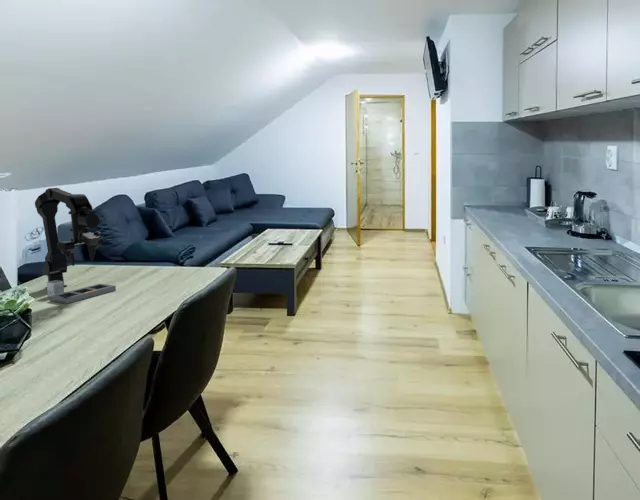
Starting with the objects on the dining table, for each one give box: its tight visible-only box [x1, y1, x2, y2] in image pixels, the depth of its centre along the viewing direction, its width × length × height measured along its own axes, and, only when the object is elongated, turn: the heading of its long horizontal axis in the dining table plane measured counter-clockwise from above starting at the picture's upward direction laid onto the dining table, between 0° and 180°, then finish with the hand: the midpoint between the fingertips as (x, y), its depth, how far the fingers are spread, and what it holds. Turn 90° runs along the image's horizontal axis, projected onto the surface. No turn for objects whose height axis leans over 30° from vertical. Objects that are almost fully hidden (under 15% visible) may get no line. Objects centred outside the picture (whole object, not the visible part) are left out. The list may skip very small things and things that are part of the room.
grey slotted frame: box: [49, 283, 117, 305], centre depth 241 cm, size 10×24×2 cm, turn 149°
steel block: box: [45, 280, 65, 298], centre depth 242 cm, size 4×4×6 cm
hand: (82, 263), depth 241 cm, fingers open, 9 cm apart
